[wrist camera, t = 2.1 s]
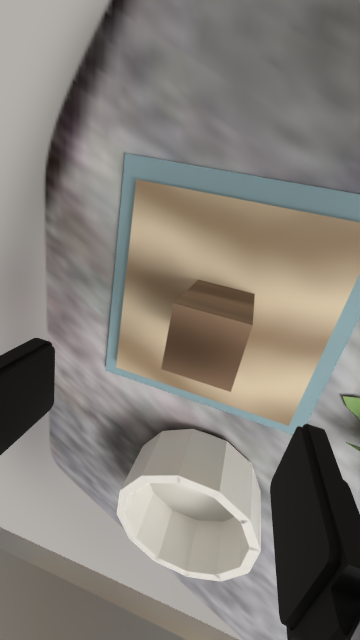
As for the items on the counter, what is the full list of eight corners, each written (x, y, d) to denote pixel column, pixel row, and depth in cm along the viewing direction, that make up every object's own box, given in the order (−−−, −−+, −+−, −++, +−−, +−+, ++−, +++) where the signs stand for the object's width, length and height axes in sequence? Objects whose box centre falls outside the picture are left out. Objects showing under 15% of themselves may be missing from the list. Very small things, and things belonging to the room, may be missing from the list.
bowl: (151, 409, 26) (125, 454, 21) (275, 454, 24) (279, 516, 19) (136, 489, 31) (112, 541, 26) (238, 532, 28) (234, 599, 23)
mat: (127, 154, 18) (125, 153, 18) (412, 204, 15) (415, 204, 15) (107, 368, 26) (105, 370, 25) (299, 433, 22) (299, 437, 22)
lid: (142, 181, 18) (81, 160, 12) (374, 226, 16) (451, 230, 9) (121, 361, 24) (73, 411, 18) (287, 417, 22) (299, 498, 15)
